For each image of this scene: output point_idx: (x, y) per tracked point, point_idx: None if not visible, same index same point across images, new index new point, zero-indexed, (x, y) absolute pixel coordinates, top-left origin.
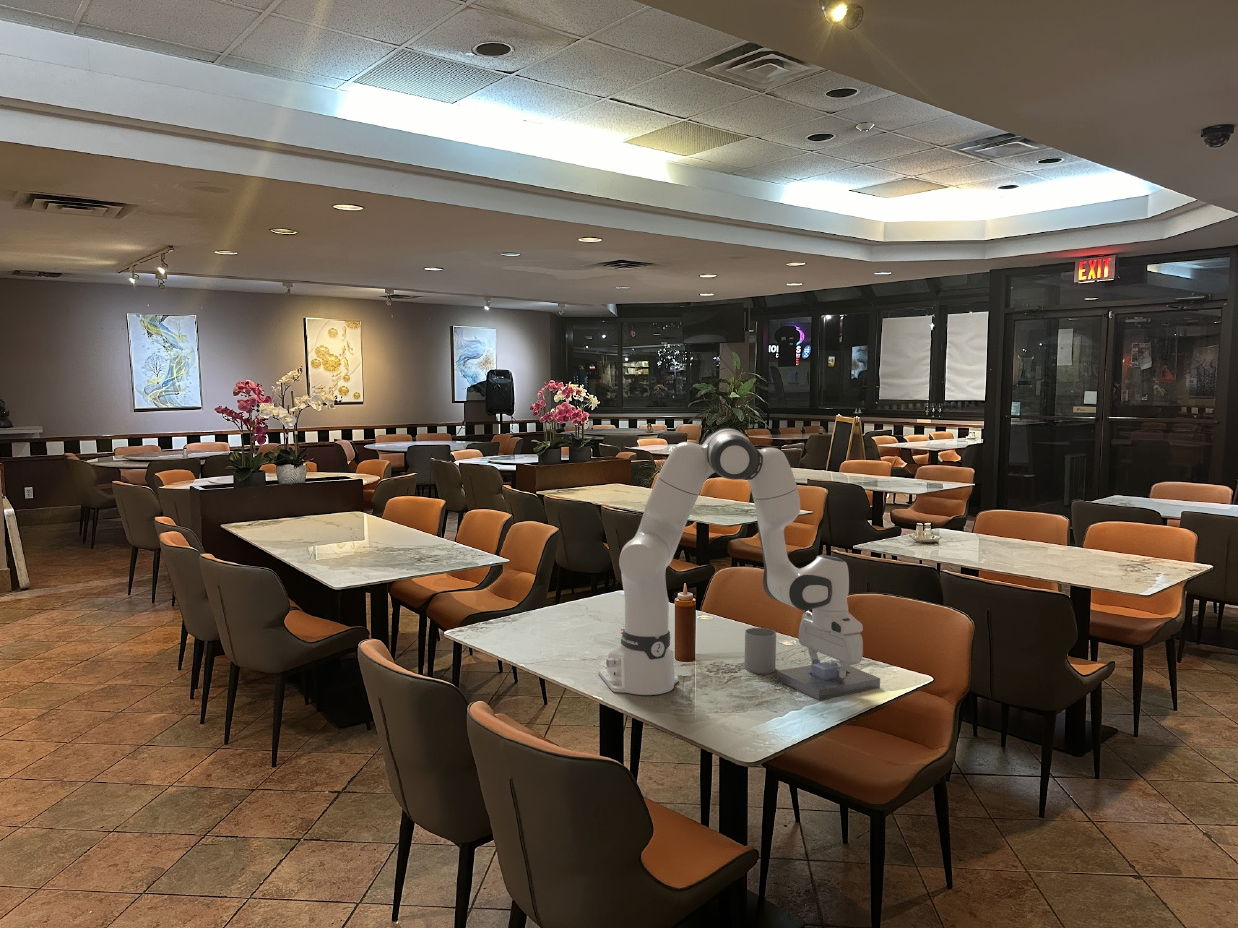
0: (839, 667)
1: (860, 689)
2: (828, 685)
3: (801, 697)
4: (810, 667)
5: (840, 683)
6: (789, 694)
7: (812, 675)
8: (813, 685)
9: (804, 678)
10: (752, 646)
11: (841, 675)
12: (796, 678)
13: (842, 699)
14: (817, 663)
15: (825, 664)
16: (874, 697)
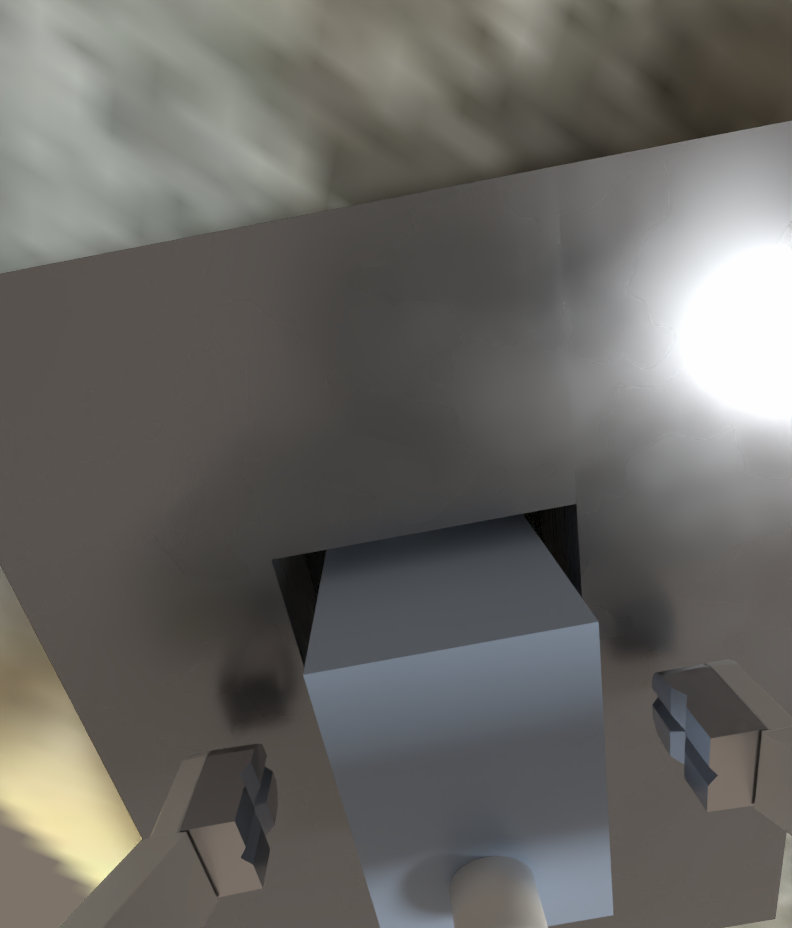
0: (370, 881)
1: None
2: (81, 529)
3: (102, 127)
4: (737, 635)
5: (138, 684)
6: (234, 10)
7: (518, 538)
8: (91, 327)
9: (408, 358)
10: None
11: (178, 786)
12: (441, 230)
13: None
14: (600, 715)
15: (513, 789)
16: (52, 801)
